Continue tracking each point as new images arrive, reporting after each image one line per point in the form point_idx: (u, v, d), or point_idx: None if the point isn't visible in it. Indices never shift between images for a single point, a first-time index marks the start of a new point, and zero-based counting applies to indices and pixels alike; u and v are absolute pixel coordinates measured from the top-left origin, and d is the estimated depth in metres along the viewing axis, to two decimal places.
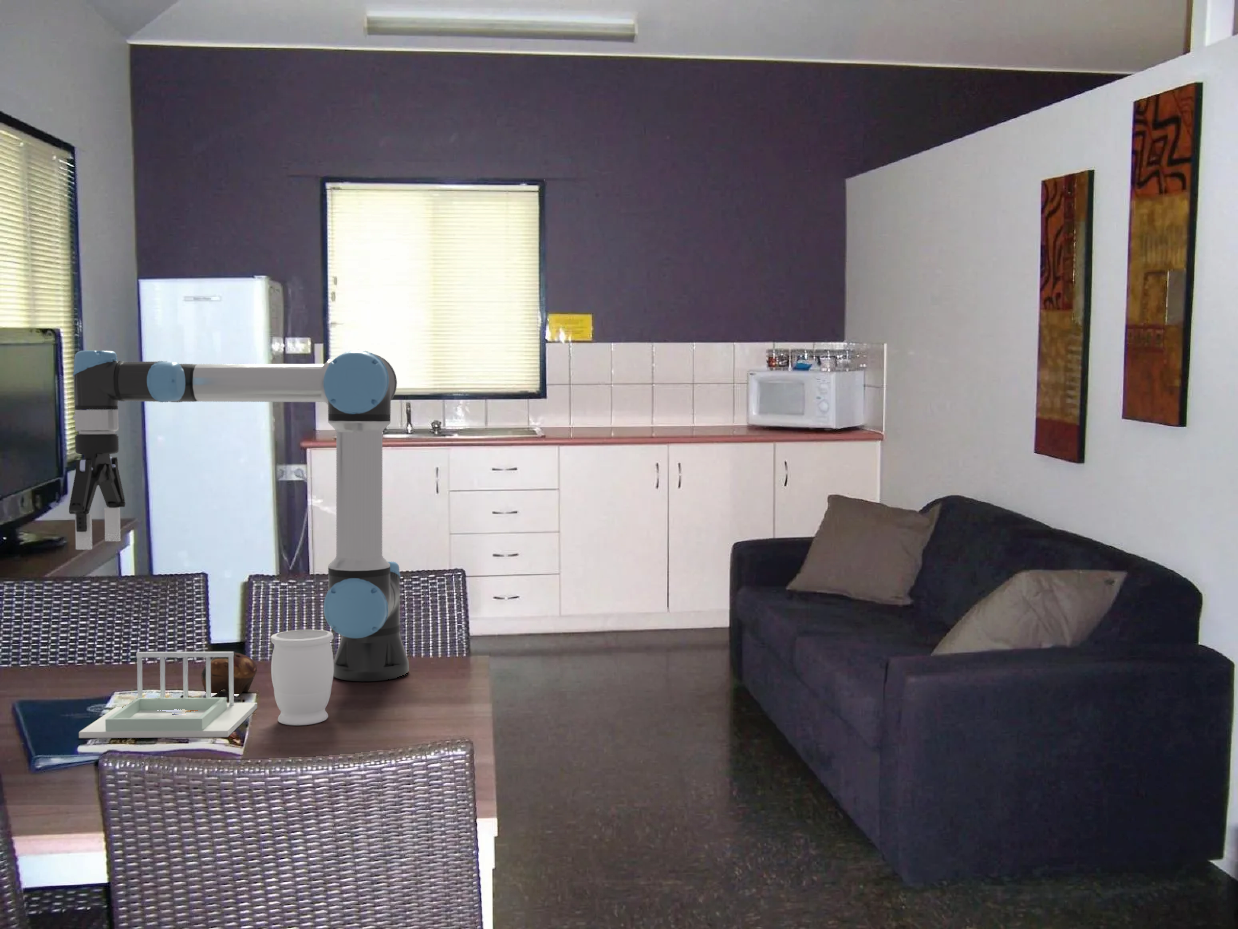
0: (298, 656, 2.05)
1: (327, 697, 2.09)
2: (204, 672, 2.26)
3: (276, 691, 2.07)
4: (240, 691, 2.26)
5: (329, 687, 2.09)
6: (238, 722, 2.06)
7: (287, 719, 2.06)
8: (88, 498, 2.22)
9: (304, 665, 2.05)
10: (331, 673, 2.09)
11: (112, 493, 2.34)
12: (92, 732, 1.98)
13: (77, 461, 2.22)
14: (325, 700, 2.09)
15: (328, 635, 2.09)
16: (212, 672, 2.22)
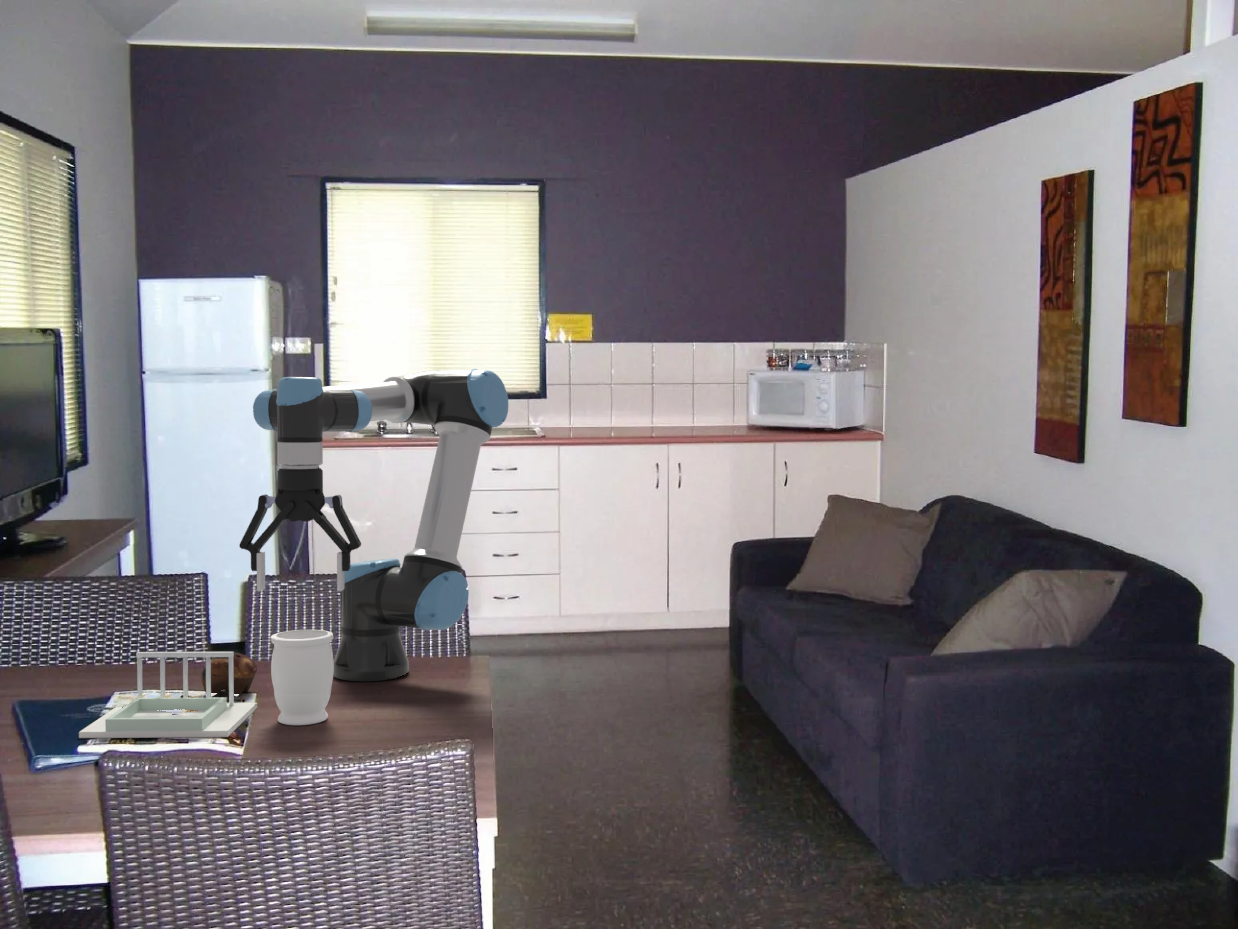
0: (298, 656, 2.05)
1: (327, 697, 2.09)
2: (204, 672, 2.26)
3: (276, 691, 2.07)
4: (240, 691, 2.26)
5: (329, 687, 2.09)
6: (238, 722, 2.06)
7: (287, 719, 2.06)
8: None
9: (304, 665, 2.05)
10: (331, 673, 2.09)
11: None
12: (92, 732, 1.98)
13: None
14: (325, 700, 2.09)
15: (328, 635, 2.09)
16: (212, 672, 2.22)
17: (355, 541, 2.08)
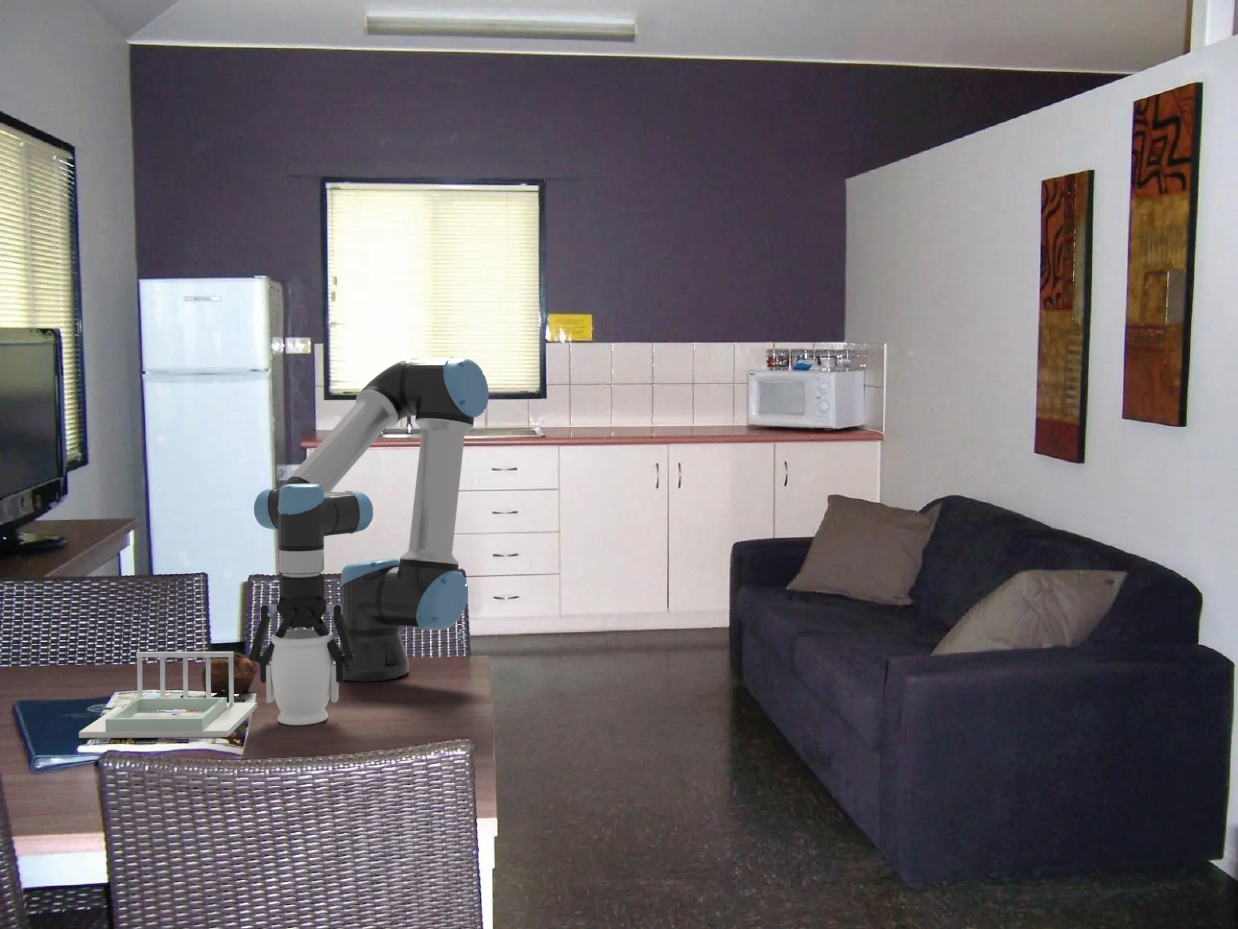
0: (298, 656, 2.05)
1: (327, 697, 2.09)
2: (204, 672, 2.26)
3: (276, 691, 2.07)
4: (240, 691, 2.26)
5: (329, 687, 2.09)
6: (238, 722, 2.06)
7: (287, 719, 2.06)
8: (267, 647, 2.08)
9: (304, 665, 2.05)
10: None
11: None
12: (92, 732, 1.98)
13: None
14: (325, 700, 2.09)
15: (328, 635, 2.09)
16: (212, 672, 2.22)
17: (350, 653, 2.09)
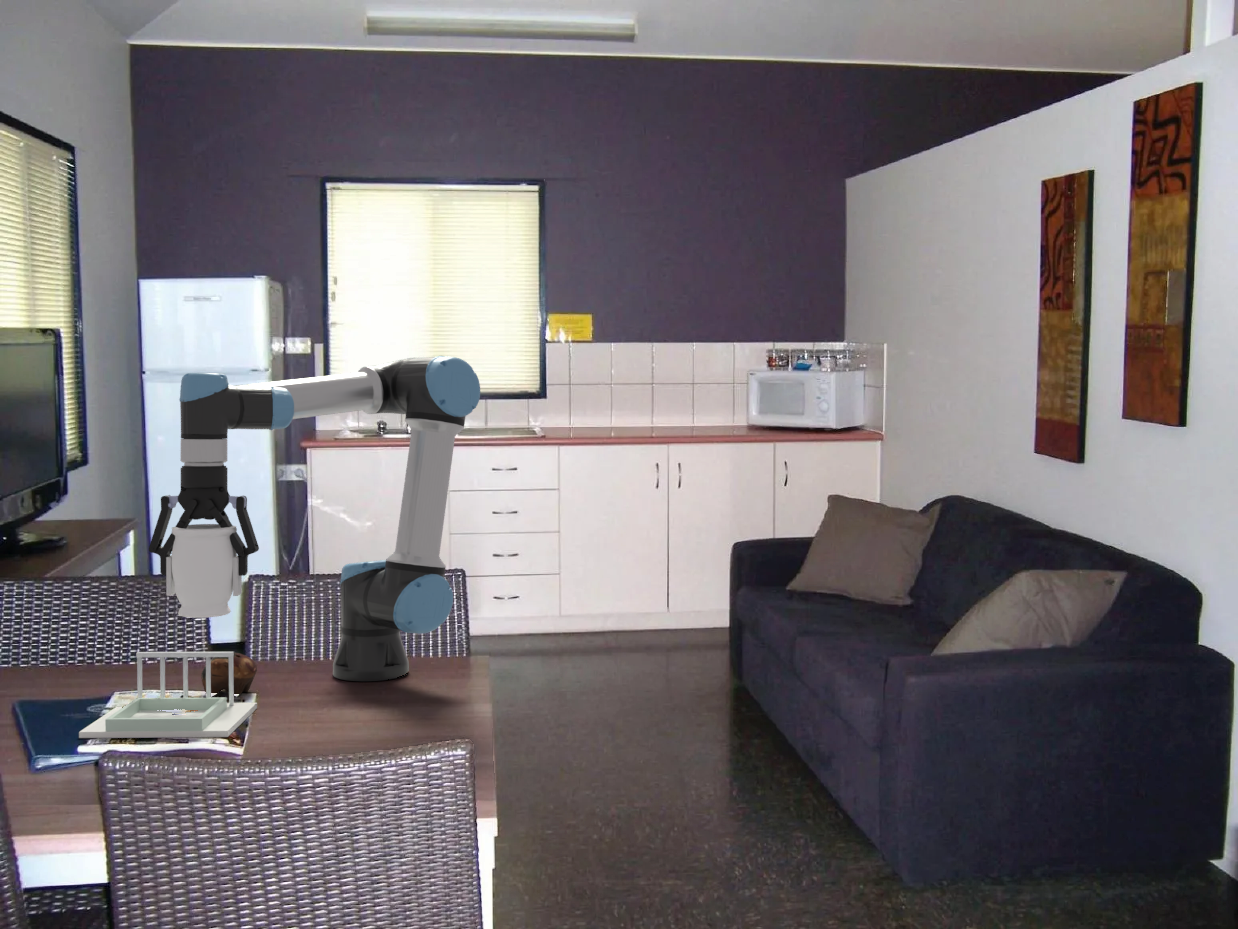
0: (198, 546, 2.01)
1: (229, 590, 2.05)
2: (204, 672, 2.26)
3: (176, 583, 2.02)
4: (240, 691, 2.26)
5: (231, 580, 2.05)
6: (238, 722, 2.06)
7: (187, 612, 2.02)
8: None
9: (204, 555, 2.01)
10: None
11: None
12: (92, 732, 1.98)
13: None
14: (227, 593, 2.04)
15: (231, 527, 2.05)
16: (212, 672, 2.22)
17: (252, 545, 2.05)
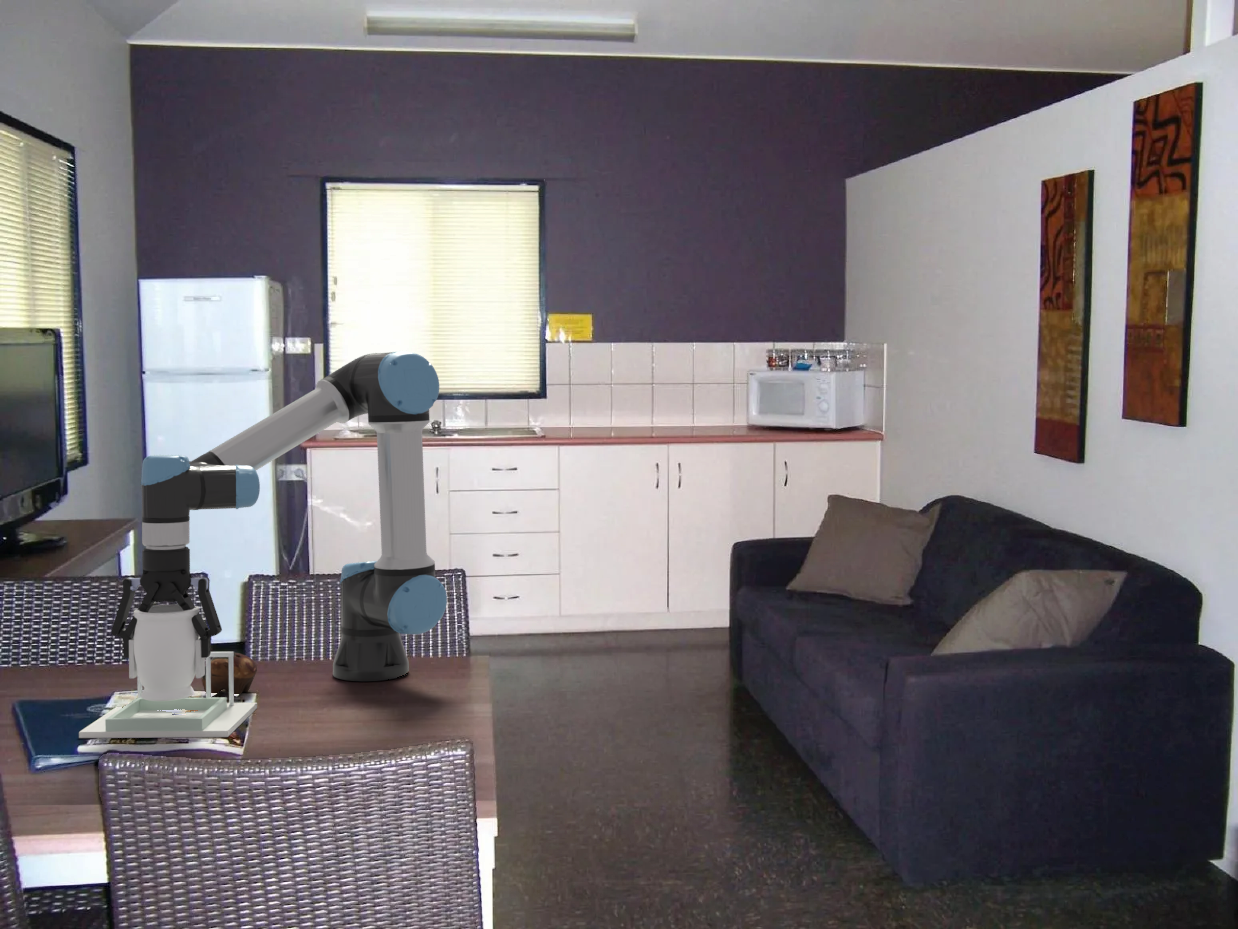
0: (159, 630, 2.00)
1: (191, 672, 2.04)
2: None
3: (138, 666, 2.02)
4: (240, 691, 2.26)
5: (194, 662, 2.05)
6: (238, 722, 2.06)
7: (149, 695, 2.02)
8: None
9: (165, 640, 2.00)
10: None
11: None
12: (92, 732, 1.98)
13: None
14: (189, 676, 2.04)
15: (193, 609, 2.05)
16: (212, 672, 2.22)
17: (215, 628, 2.04)
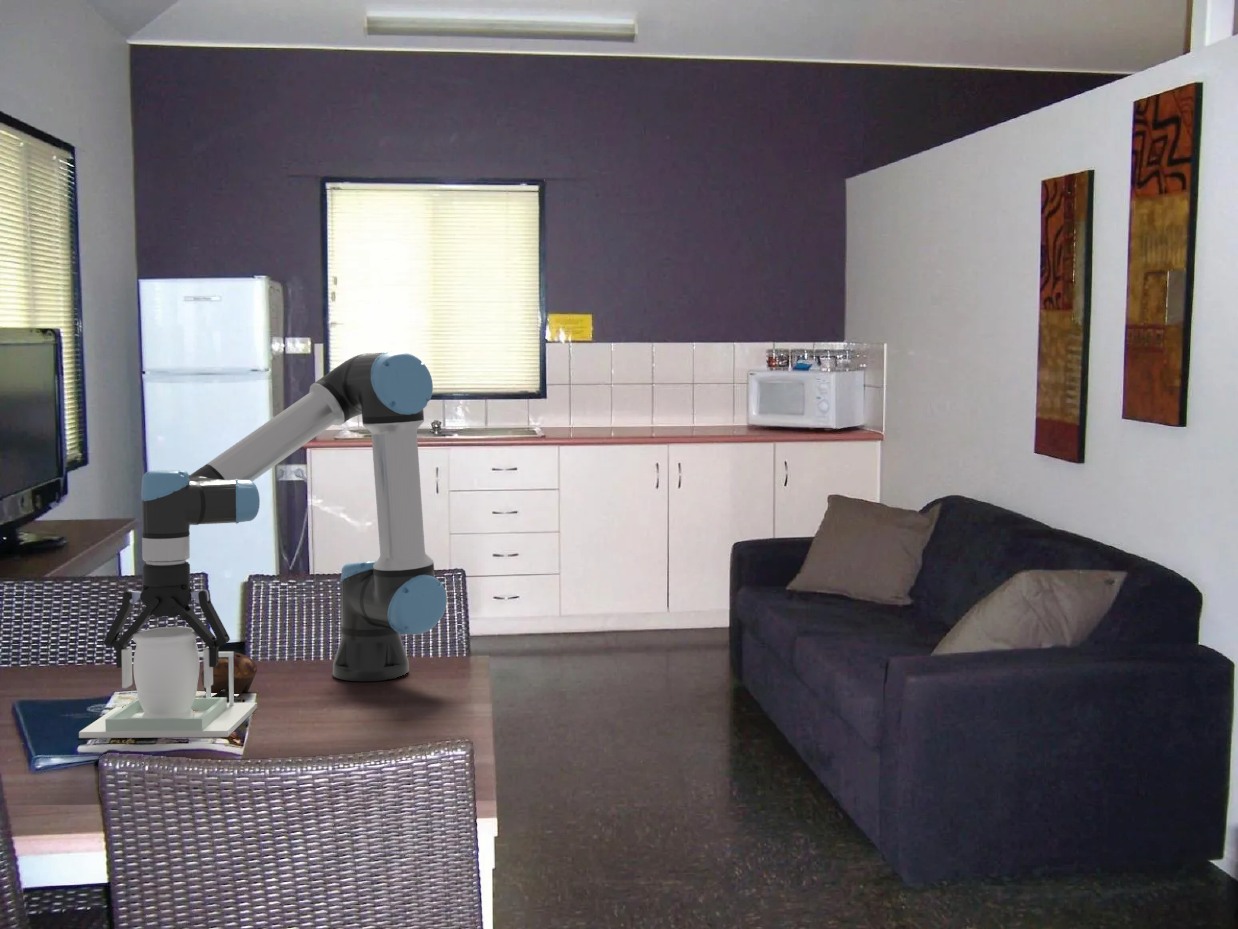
0: (158, 654, 2.00)
1: (191, 695, 2.05)
2: None
3: (138, 690, 2.02)
4: (240, 691, 2.26)
5: (194, 686, 2.05)
6: (238, 722, 2.06)
7: None
8: None
9: (165, 664, 2.01)
10: (195, 671, 2.05)
11: None
12: (92, 732, 1.98)
13: None
14: (189, 699, 2.04)
15: (192, 633, 2.05)
16: None
17: (222, 637, 2.05)
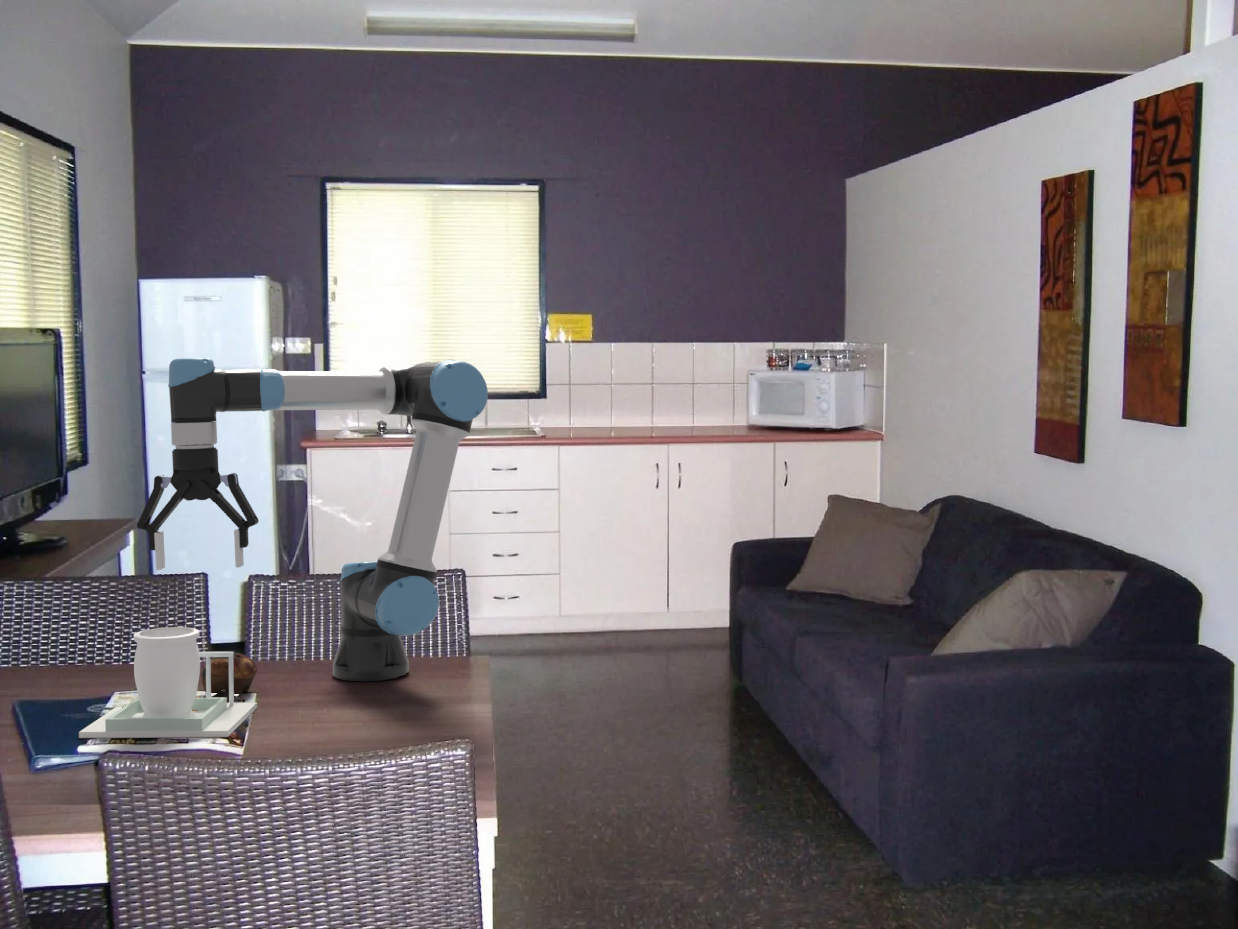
0: (159, 654, 2.01)
1: (191, 696, 2.05)
2: (204, 672, 2.26)
3: (138, 690, 2.03)
4: (240, 691, 2.26)
5: (194, 686, 2.05)
6: (238, 722, 2.06)
7: None
8: None
9: (166, 664, 2.01)
10: (196, 672, 2.05)
11: None
12: (92, 732, 1.98)
13: None
14: (189, 699, 2.04)
15: (193, 633, 2.05)
16: (212, 672, 2.22)
17: (252, 518, 2.12)
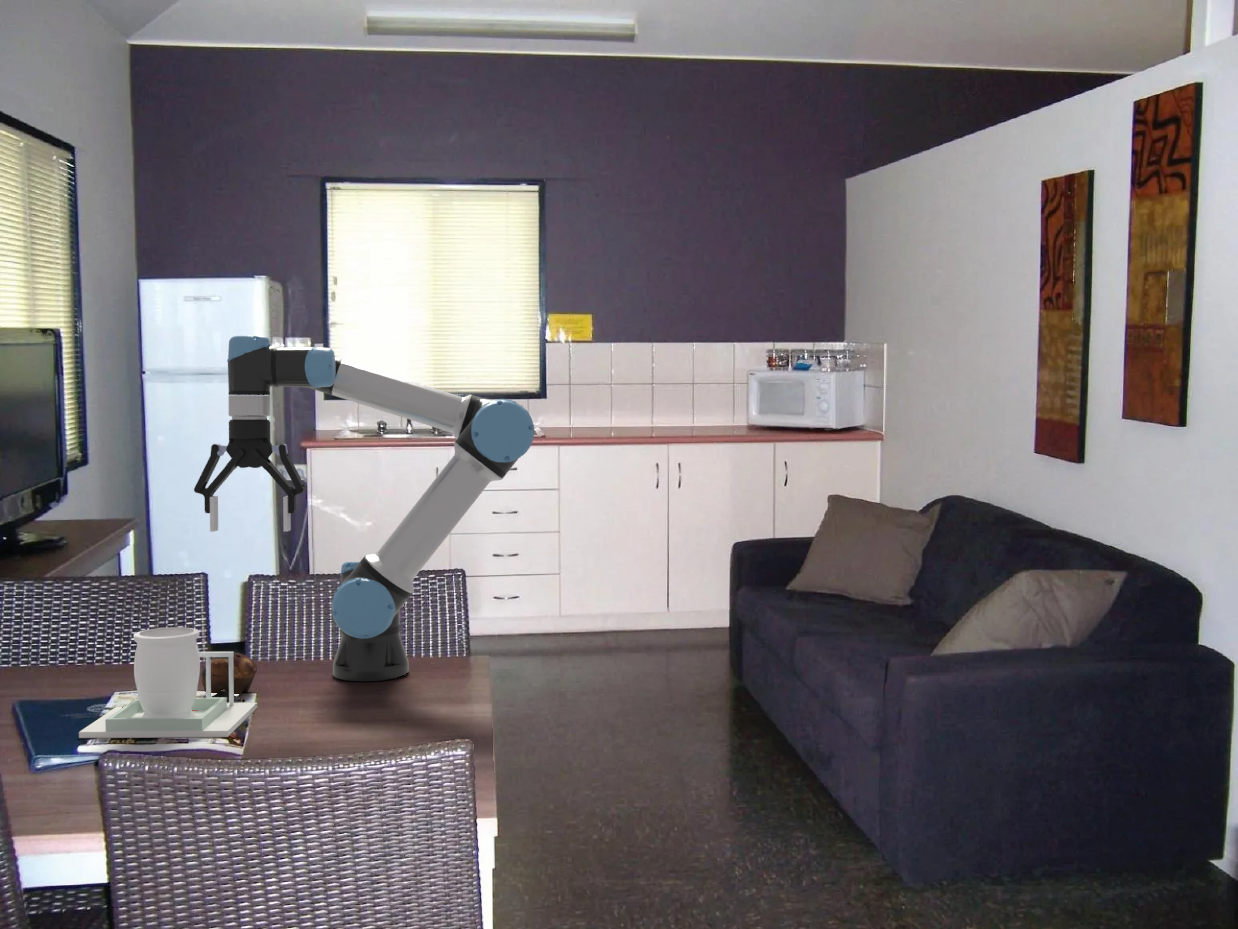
0: (159, 654, 2.01)
1: (191, 696, 2.05)
2: (204, 672, 2.26)
3: (138, 690, 2.03)
4: (240, 691, 2.26)
5: (194, 686, 2.05)
6: (238, 722, 2.06)
7: None
8: None
9: (166, 664, 2.01)
10: (196, 671, 2.05)
11: None
12: (92, 732, 1.98)
13: None
14: (189, 699, 2.04)
15: (193, 633, 2.05)
16: (212, 672, 2.22)
17: (300, 486, 2.28)
